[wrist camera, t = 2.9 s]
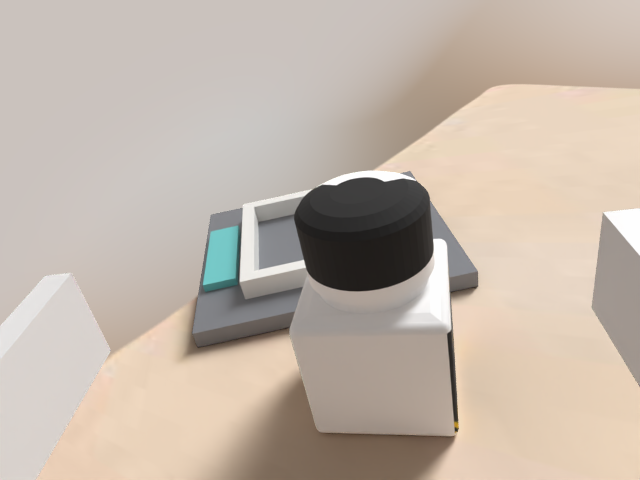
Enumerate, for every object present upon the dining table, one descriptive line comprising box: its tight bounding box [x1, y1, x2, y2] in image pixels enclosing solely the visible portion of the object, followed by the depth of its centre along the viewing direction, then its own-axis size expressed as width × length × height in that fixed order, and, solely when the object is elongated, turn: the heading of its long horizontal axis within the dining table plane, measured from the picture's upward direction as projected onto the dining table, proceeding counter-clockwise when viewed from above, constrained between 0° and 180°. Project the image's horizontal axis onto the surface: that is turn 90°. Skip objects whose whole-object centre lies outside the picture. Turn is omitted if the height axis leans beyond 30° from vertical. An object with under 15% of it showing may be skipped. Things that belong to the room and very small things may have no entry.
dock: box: [192, 171, 478, 347], centre depth 41 cm, size 19×17×3 cm
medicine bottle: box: [289, 171, 459, 436], centre depth 26 cm, size 7×7×12 cm
